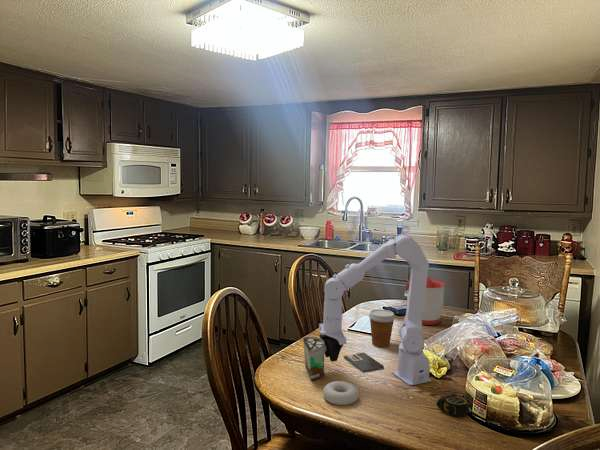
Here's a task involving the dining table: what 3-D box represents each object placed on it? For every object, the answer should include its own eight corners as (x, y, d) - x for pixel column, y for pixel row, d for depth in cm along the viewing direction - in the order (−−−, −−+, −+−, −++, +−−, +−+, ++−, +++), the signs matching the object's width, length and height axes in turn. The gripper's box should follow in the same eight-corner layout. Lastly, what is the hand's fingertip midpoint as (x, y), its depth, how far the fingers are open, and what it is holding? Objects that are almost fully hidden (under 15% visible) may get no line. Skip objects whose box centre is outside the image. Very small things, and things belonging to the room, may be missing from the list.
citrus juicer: (395, 317, 199) (397, 272, 196) (429, 314, 204) (431, 271, 202) (414, 329, 184) (416, 281, 182) (450, 325, 189) (453, 278, 187)
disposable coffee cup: (366, 347, 163) (367, 315, 162) (368, 338, 172) (370, 308, 171) (393, 350, 161) (394, 317, 159) (394, 341, 170) (395, 310, 168)
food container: (331, 380, 135) (330, 348, 134) (311, 383, 134) (309, 350, 133) (323, 363, 147) (321, 334, 146) (304, 365, 146) (302, 336, 145)
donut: (365, 398, 126) (335, 386, 133) (365, 386, 126) (336, 375, 132) (345, 412, 119) (315, 399, 125) (346, 399, 118) (315, 387, 125)
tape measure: (453, 403, 124) (453, 390, 123) (474, 415, 118) (475, 401, 118) (435, 410, 120) (436, 396, 120) (456, 422, 114) (457, 408, 114)
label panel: (383, 368, 146) (383, 365, 145) (362, 372, 142) (362, 368, 142) (363, 354, 156) (364, 351, 156) (343, 358, 153) (343, 354, 153)
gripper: (311, 311, 145) (310, 351, 147) (332, 325, 132) (330, 369, 134) (330, 309, 148) (329, 349, 150) (353, 323, 135) (351, 366, 137)
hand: (331, 358), depth 142 cm, fingers open, 3 cm apart
